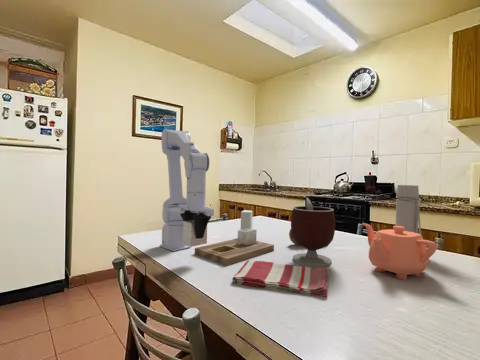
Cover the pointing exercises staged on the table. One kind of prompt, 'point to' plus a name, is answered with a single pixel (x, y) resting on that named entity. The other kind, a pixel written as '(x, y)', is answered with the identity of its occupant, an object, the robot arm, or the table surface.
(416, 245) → the teapot
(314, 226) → the mate gourd
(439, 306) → the table surface
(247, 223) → the skincare box
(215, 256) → the board
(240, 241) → the block
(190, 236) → the block
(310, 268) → the dish towel
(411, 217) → the water bottle
